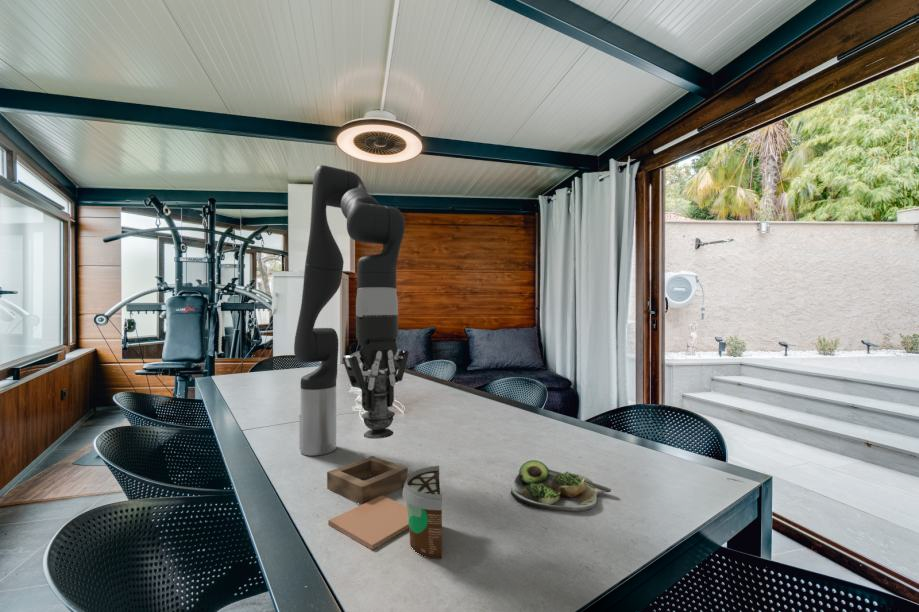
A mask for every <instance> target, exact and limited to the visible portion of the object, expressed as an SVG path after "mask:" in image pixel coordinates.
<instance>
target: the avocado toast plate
mask: <svg viewBox="0 0 919 612" xmlns="http://www.w3.org/2000/svg"><path fill="white" fill-rule="evenodd" d="M611 492H612V489H611V488H610V487H607V486H603V485H601V484H598V483H594V482H593V481H592V480H591V478H588V477H586V476H585V475H582V474H579V473H572V472H569V471H565V472H559V471H557V470H556V471H555V470H552V469H549V467H547V465H546V464H545V463H543V462H542V461H539V460H534V459H533V460H527V461H526V462H524V463H523V464H521V466H520V468H519V471H518V474H517V475H516V477H515V480H514V482H513V484H512V486H511V490H510V494H511V496H512V497H513V498H514V499H515V500H516V501H517V503H519V504H522V505H524V506H526V507H530V508H533V509H539V510H548V511H550V510H551V511H557V512H558V511H559V512H583V511H587V510H589V509H591V508H593V507H595V506H596V504H597V500H598V499H597V498H598V497H597V496H598V495H599V494H602V493H611ZM565 499H566V500H577V501H578V502H579V504H576V505H571V506H570V505H567V506H566V505H555V504H556V503H557V502H558V501H560V500H565Z"/></svg>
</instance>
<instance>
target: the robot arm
mask: <svg viewBox="0 0 919 612" xmlns="http://www.w3.org/2000/svg"><path fill="white" fill-rule="evenodd" d="M327 207H333V208H338V209H340V210H341V213H342V214H343V216H344V218H345V219H346V231H347V234H348V236H349V237H350V238H351V239H352V240H354V241H356V242H358V243H363V244H375V245H382V249H381V252H380V253H377V254H371V255H365V256H362V257H360V258H359V259H358V260H357V262H356V263H357V265H356V288H357V289H356V298H355V337H356V340H357V347H356V349H355V352H353V353H351V354H349V355H343V357H342V362H343V365H344V367H345V372H346V374H347V376H348V380H349V383H350V384H351V385H350V386H351V387H353V388H358V389H360V390H361V391H360V392H361V407H362V409H363V410H364V411H366V412H368V411H369V412H371V411H374V410H375V394H374V390H372V389H373V388H374V382H375V377H377V375H378V370H379V372H381V373H383V374H385V376H386V391H387V392H388V394H387V407H388V408H390V407H393V404H394V401H395V390H394V389H395V387H394V386H395V385H396V384H397V383H398V382H401V381H402V380H403V377H404V374H405V370H406V365H407V362H408V358H409V355H410V354H409V351H408V350H406V349H405V350H403V349H399V348H398V344H397V341H396V340H397V339H398V338H399V300H398V295H397V294H398V293H397V292H398V291H397V264H398V258H399V253H400V249H401V246H402V242H403V238H404V235H405V231H406V220H405V217H404V214H403V213H402V212H401V210H400V209H398V207H395V206H394V207H393V206H389V205H381V204H380V203H379V202H378V200H376V199H375V197H373V196H372V195H371V194H370V193H368V191H367V188H366V186H365V185H364V182H363V181H362V178H361V177H360V176H359V175H358V174H357V173H355V172H353V171H350V170H346V169H342V168H338V167H335V166H334V167H333V166H329V165H323V164H321V165H319V166H317V167H316V169H315V172H314V174H313V179H312V191H311V211H310V212H311V213H310V225H309V226H310V228H309V237H308V244H307V250H306V251H307V252H306V256H305V257H306V258H305V263H304V271H303V285H302V286H303V287H302V296H301V303H300V304H301V305H300V310H299V314H298V315H299V316H298V320H297V326H296V330H295V334H294V335H295V336H294V344H293V351H294V352H293V354H294V357H295V360H297V362H298V363H304V364H305V363H307V364H308V363H320V365H319V366H318V367H317V368H316V369H315V370H313V371H311V372H310V373H307V374H305V375H303V376H302V377H301V379H300V414H299V450H300V453H301V454H302V455H303V456H320V455H321V456H322V455H326V454H327V455H328V454H330V453H333V452H334V451H336V449H337V378H338V363H339V362H338V360H339V336H338V333H337V331H336V330H335V328H331V327H315V325H316V322H317V321H316V320H317V318H318V316H319V314H320V313H321V311H322V310H323V309H324V307H325V306H326V305H327V304H328V303H329V302H330V301H331V300H332V299H333V297H334V295H335V294H336V293H337V292H338V290H339V288H340V287H341V283H342V278H343V270H344V258H343V257H344V256H343V254H342V252H341V250H340V248H339V245H338V243H337V242H336V240H335V238H334V235H333V233H332V230H331V228H330V226H329V222H328V215H327ZM360 364H361V365H360Z"/></svg>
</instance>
